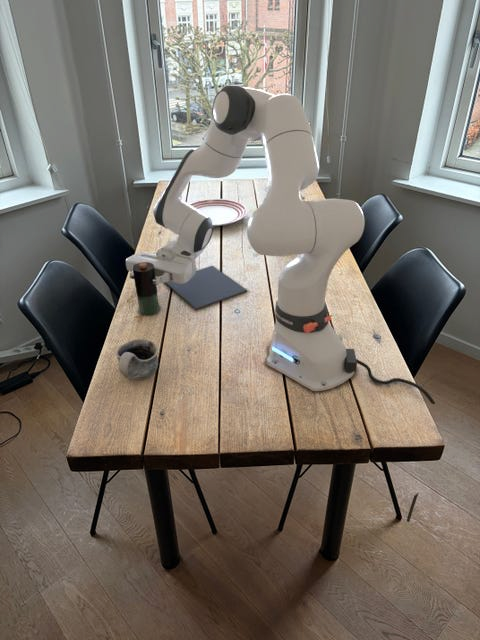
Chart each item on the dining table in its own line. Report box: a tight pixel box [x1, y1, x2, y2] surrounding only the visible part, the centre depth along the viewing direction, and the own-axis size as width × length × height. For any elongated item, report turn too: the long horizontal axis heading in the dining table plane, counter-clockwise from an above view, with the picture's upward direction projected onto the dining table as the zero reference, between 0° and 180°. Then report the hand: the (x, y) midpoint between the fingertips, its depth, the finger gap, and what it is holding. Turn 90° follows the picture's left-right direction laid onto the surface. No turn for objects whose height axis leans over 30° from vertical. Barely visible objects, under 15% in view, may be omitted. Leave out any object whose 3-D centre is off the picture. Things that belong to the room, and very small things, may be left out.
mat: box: [163, 265, 248, 311], centre depth 148 cm, size 20×18×1 cm
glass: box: [136, 292, 160, 316], centre depth 135 cm, size 6×6×6 cm
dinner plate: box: [188, 198, 248, 227], centre depth 195 cm, size 28×27×3 cm
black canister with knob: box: [133, 262, 158, 297], centre depth 132 cm, size 6×6×10 cm
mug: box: [115, 338, 159, 381], centre depth 109 cm, size 10×12×10 cm
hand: (143, 279), depth 131 cm, fingers open, 6 cm apart
